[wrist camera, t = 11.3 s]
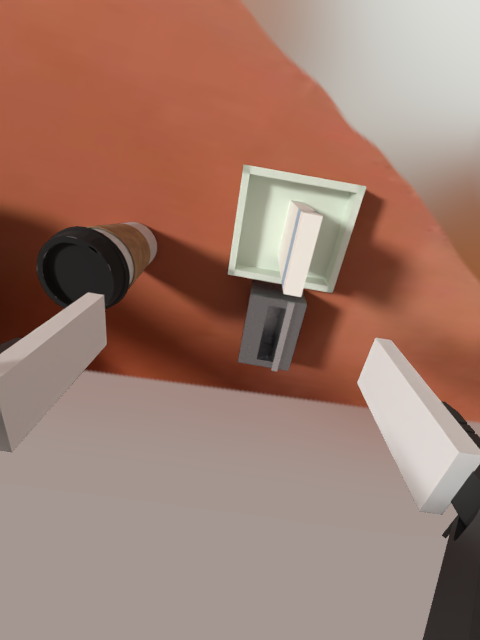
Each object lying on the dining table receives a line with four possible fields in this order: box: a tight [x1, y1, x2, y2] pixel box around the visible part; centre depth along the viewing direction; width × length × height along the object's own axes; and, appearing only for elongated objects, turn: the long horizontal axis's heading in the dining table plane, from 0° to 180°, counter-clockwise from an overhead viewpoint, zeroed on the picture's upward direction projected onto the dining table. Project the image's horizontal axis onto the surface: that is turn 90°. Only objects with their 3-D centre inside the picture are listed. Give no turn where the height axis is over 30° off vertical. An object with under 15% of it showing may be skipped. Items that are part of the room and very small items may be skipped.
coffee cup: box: [37, 222, 157, 309], centre depth 34 cm, size 8×8×15 cm
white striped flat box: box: [278, 200, 323, 297], centre depth 32 cm, size 2×7×14 cm, turn 171°
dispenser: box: [238, 279, 307, 371], centre depth 41 cm, size 7×10×7 cm
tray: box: [228, 165, 366, 293], centre depth 37 cm, size 14×13×4 cm
